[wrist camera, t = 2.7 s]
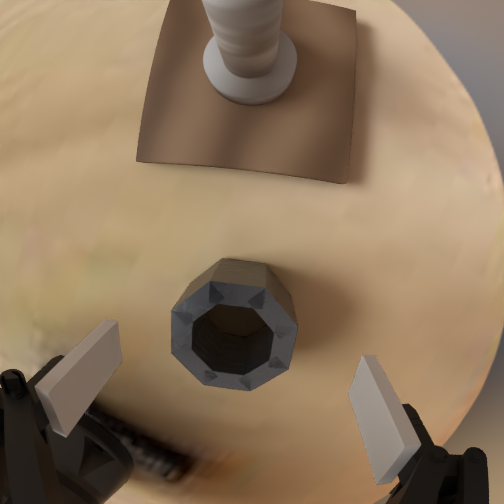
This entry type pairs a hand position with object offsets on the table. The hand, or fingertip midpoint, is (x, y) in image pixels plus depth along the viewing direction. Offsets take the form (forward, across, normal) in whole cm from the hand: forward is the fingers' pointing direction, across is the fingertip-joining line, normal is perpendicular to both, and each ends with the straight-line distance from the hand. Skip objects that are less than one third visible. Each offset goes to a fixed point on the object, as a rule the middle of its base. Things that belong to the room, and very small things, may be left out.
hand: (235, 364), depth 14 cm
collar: (+8, -1, 0) cm, 8 cm away
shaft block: (+8, -2, +17) cm, 18 cm away
